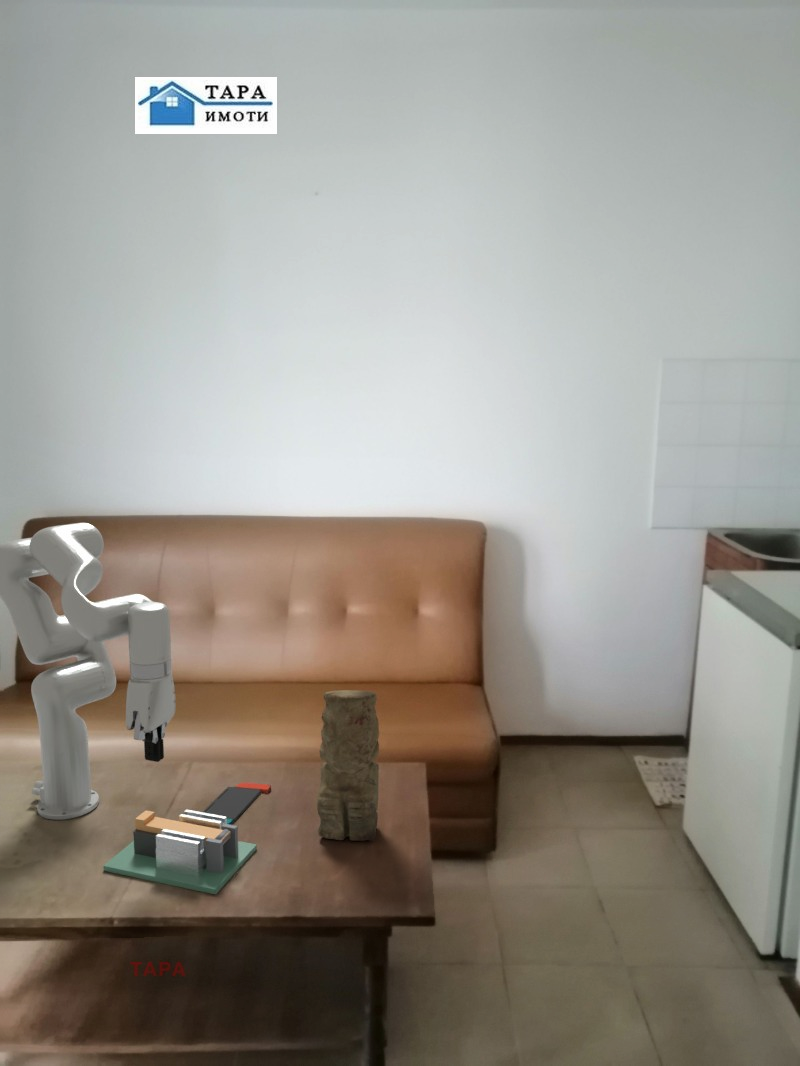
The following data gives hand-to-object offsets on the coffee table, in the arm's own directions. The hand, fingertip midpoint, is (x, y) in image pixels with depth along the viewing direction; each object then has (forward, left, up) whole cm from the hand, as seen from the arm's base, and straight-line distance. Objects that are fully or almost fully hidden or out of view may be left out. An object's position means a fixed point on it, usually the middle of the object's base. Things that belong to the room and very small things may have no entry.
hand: (154, 759), depth 163 cm
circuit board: (+5, 0, -20) cm, 21 cm away
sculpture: (+32, +19, -20) cm, 43 cm away
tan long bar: (+6, 0, -15) cm, 16 cm away
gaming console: (+4, +22, -21) cm, 31 cm away
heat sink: (+8, 0, -20) cm, 21 cm away
